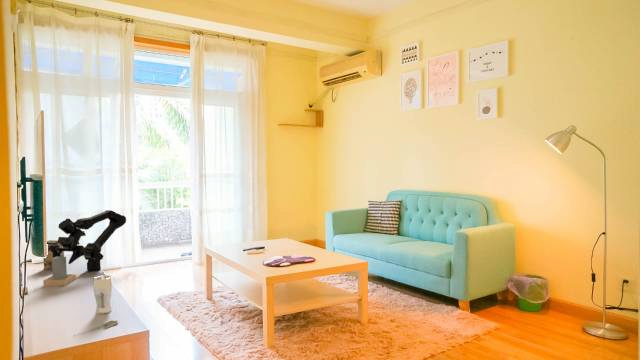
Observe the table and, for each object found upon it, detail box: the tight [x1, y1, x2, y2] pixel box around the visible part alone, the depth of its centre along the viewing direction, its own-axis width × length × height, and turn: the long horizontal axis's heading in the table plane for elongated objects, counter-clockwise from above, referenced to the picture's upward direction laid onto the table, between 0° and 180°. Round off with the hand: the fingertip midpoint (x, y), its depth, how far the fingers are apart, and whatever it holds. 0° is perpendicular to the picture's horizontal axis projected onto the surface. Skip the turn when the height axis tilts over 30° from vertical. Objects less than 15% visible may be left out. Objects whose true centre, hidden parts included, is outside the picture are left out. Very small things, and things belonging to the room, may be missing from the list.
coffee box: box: [42, 239, 65, 271], centre depth 256 cm, size 9×6×16 cm
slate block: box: [51, 256, 68, 280], centre depth 228 cm, size 5×4×13 cm
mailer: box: [42, 273, 81, 287], centre depth 231 cm, size 11×17×3 cm, turn 4°
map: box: [73, 320, 118, 337], centre depth 167 cm, size 5×20×1 cm, turn 149°
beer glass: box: [93, 275, 113, 315], centre depth 187 cm, size 7×7×15 cm
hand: (60, 263), depth 229 cm, fingers open, 9 cm apart
